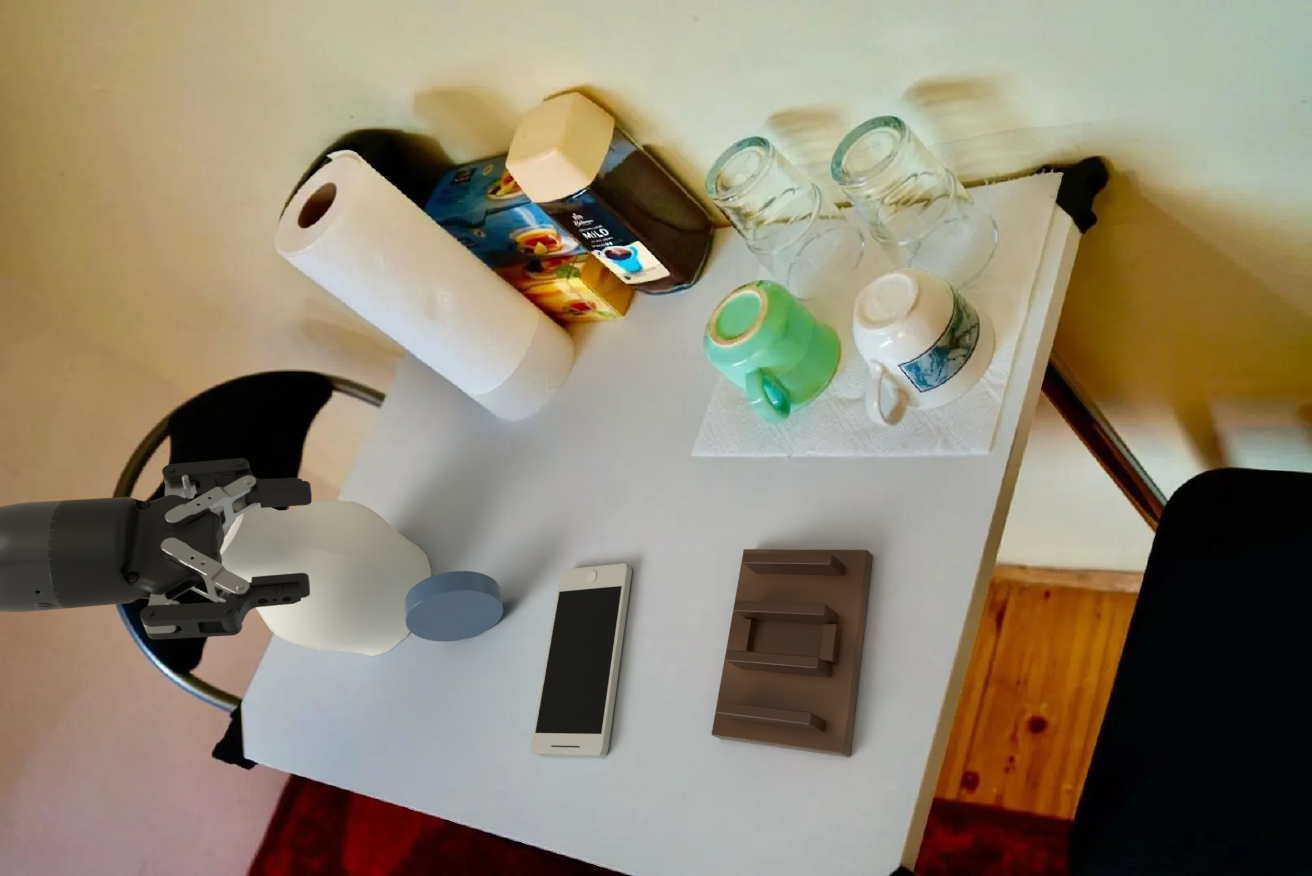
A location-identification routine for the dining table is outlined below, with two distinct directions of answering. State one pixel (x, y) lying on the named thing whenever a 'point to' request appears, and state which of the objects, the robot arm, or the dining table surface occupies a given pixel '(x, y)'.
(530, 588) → the dining table surface
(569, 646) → the smartphone
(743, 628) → the rack
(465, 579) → the disc
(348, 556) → the vase
